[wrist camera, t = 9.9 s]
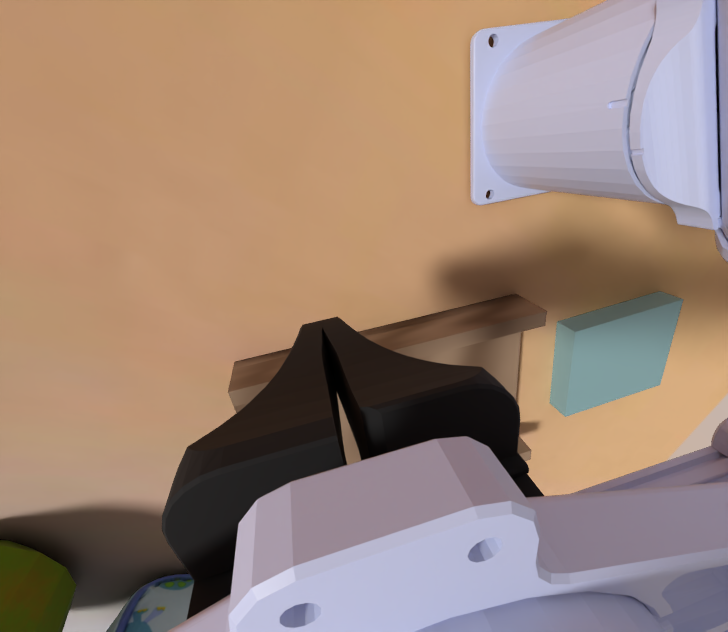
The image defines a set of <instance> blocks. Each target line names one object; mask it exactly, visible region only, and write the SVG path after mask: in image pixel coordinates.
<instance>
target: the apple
mask: <svg viewBox="0 0 728 632" xmlns="http://www.w3.org/2000/svg"><path fill="white" fill-rule="evenodd" d="M76 586H77V585H76V584H75V582H74V580H73V579H72V577H71V575H70V574H69V572H68V570H67V568H66V567H64V566H62V565H61V564H59V563H57V562H56V561H54V560H52V559H50V558H49V557H47V556H45V555H44V554H42V553H40V552H38V551H36V550H34V549H31V548H29V547H26V546H23V545H20V544H17V543H14V542H11V541H8V540H0V632H62V631H63V628H64V624H65V621H66V618H67V615H68V612H69V609H70V606H71V603H72V599H73V596H74V592H75V589H76Z"/></svg>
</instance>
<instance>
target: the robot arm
mask: <svg viewBox="0 0 728 632" xmlns="http://www.w3.org/2000/svg"><path fill="white" fill-rule="evenodd" d="M489 37H492V38H493V40H494V44H493V47H490V45H489V43H488V40H489ZM470 101H471V201H472V202H473V203H474V204H476V205H485V204H490V203H495V202H500V201H505V200H510V199H515V198H520V197H525V196H530V195H535V194H540V193H545V192H550V191H555V192H563V193H572V194H580V195H589V196H597V197H606V198H614V199H623V200H632V201H640V202H649V203H657V204H666V205H669V206H670V207H671V208H672V209H673V211H674V212H675V214H676V218H677V223H678V224H680V225H686V226H692V227H698V228H705V229H711V230H715V241H716V246H717V249H718V251H719V253H720V254H721V256H722V257H723V259H724V260H725V261H727V262H728V0H607V1H605V2H602V3H600V4H598V5H596V6H594V7H592V8H590V9H588V10H586V11H584V12H582V13H580V14H578V15H576V16H574V17H571V18H569V19H561V20H553V21H544V22H536V23H528V24H519V25H511V26H503V27H494V28H486V29H482V30H479V31H478V32H476V33H475V34H474V35H473V37H472V39H471V44H470ZM488 190H490V196H489V197H488V198H486V193H487V191H488ZM337 393H338V396H339V399H340V401H341V404H342V407H343V409H344V412H345V415H346V417H347V420H348V423H349V425H350V428H351V431H352V433H353V436H354V438H355V441H356V444H357V447H358V450H359V454H360V457H361V461H358V462H355V463H352V464H348V465H347V461H346V457H345V451H344V445H343V437H342V429H341V421H340V413H339V405H338V397H337ZM519 427H520V411H519V406H518V404H517V402H516V400H515V398H514V397H513V396H512V395H511V394H510V393H509V392H508V391H507V390H506V389H505V387H504V386H503V385H502V384H501V383H500V382H499V381H498V380H497V379H496V378H495V377H493V376H492V375H491V374H490V373H489V372H488V371H486V370H485V369H484V368H483V367H479V366H464V365H450V364H443V363H437V362H431V361H426V360H421V359H417V358H414V357H410V356H406V355H403V354H400V353H397V352H395V351H392V350H390V349H387V348H385V347H382V346H380V345H378V344H376V343H374V342H373V341H371V340H369V339H367V338H366V337H364V336H363V335H361V334H360V333H358V332H357V331H355V330H354V329H352V328H351V327H350V326H349V325H347V324H346V323H345V322H344V321H343V320H341V319H340V318H338V317H334V318H330V319H326V320H321V321H317V322H313V323H309V324H304V325H302V327H301V328H300V331H299V334H298V336H297V339H296V341H295V343H294V345H293V347H292V349H291V351H290V353H289V355H288V356H287V358H286V360H285V361H284V363H283V364H282V366H281V368H280V369H279V371H278V372H277V373H276V375H275V376H274V377H273V379H272V380H271V381H270V382H269V383H268V384H267V386H266V387H265V388H264V389H263V390H262V391H261V392H260V393H259V394H258V395H257V396H256V397H255V398H254V399H253V400H251V401H250V402H249V403H248V404H247V405H246V406H245V407H244V408H243V409H241V410H240V411H239V412H238V413H237V414H235V415H234V416H233V417H231V418H230V419H229V420H227V421H226V422H225V423H223V424H222V425H221V426H219V427H218V428H216V429H215V430H213V431H212V432H210V433H209V434H207V435H205V436H204V437H202V438H201V439H199V440H198V441H196V442H195V443H193V444H191V445H190V446H188V447H187V449H186V451H185V454H184V456H183V458H182V460H181V463H180V465H179V467H178V470H177V473H176V475H175V478H174V481H173V484H172V487H171V490H170V493H169V497H168V500H167V503H166V506H165V509H164V512H163V515H162V531H163V533H164V536H165V538H166V540H167V542H168V544H169V545H170V547H171V548H172V550H173V551H174V553H175V554H176V555H177V557H178V558H179V560H180V561H181V563H182V564H183V565H184V567H185V568H186V570H187V571H188V573H189V574H190V576H191V577H192V578H193V580H194V585H193V590H192V595H191V600H190V605H189V610H188V615H187V620H186V621H184V622H182V623H181V624H179V625H177V626H175V627H174V628H172V629H170V630H169V631H167V632H728V418H727V419H725V420H724V421H723V422H722V423H721V424H719V426H718V427H717V429H716V430H715V433H714V435H713V438H712V441H711V446H709V447H706V448H704V449H701V450H697V451H694V452H692V453H689V454H686V455H683V456H680V457H677V458H674V459H671V460H668V461H665V462H662V463H659V464H656V465H654V466H651V467H648V468H645V469H642V470H639V471H636V472H633V473H630V474H627V475H624V476H621V477H618V478H616V479H613V480H610V481H607V482H604V483H601V484H598V485H595V486H592V487H589V488H586V489H583V490H580V491H578V492H575V493H572V494H566V495H553V496H544V495H543V494H542V492H541V491H540V490H539V489H538V487H537V486H536V485H535V483H534V482H533V481H532V480H531V478H530V477H529V476H528V475H527V473H528V472H529V468H528V465H527V463H526V462H525V461H524V460H523V458H522V457H521V456H520V455H519V453H518V452H517V451H518V439H519Z"/></svg>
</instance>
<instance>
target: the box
mask: <svg viewBox="0 0 728 632" xmlns="http://www.w3.org/2000/svg"><path fill="white" fill-rule="evenodd" d="M546 314H547V311H546V310H544V309H542V308H540V307H538V306H537V305H535V304H533V303H531V302H530V301H528V300H526V299H524V298H523V297H521V296H519V295H517V294H513V295H509V296H505V297H501V298H497V299H493V300H488V301H484V302H480V303H476V304H472V305H468V306H464V307H460V308H455V309H451V310H447V311H443V312H439V313H435V314H431V315H427V316H422V317H418V318H414V319H410V320H406V321H402V322H398V323H394V324H390V325H385V326H381V327H377V328H373V329H369V330H365V331H361V332H358V333H360V334H361V335H363V336H364V337H366V338H367V339H369V340H371V341H373V342H374V343H376V344H378V345H380V346H382V347H385V348H387V349H390V350H392V351H395V352H397V353H400V354H403V355H406V356H410V357H414V358H417V359H421V360H426V361H431V362H437V363H443V364H450V365H464V366H479V367H483V368H484V369H485V370H486V371H488V372H489V373H490V374H491V375H492V376H493V377H495V378H496V379H497V380H498V381H499V382H500V383H501V384H502V385H503V386H504V387H505V389H506V390H507V391H508V392H509V393H510V394H511V395H512V396H513V397H514V398H515V400H516V393H517V379H518V366H519V353H520V339H521V332H522V331H526V330H530V329H534V328H538V327H542V326H545V323H546ZM291 349H292V348H291ZM291 349H286V350H282V351H278V352H274V353H270V354H266V355H262V356H258V357H253V358H249V359H245V360H241V361H237V362H234V367H233V371H232V376H231V381H230V385H229V390H228V394H229V396H230V398H231V401H232V403H233V406H234V408H235V410H236V413H238V412H239V411H240V410H241V409H243V408H244V407H245V406H246V405H247V404H248V403H249V402H250V401H251V400H253V399H254V398H255V397H256V396H257V395H258V394H259V393H260V392H261V391H262V390H263V389H264V388H265V387H266V386H267V384H268V383H269V382H270V381H271V380H272V379H273V377H274V376H275V375H276V373H277V372H278V371H279V369H280V368H281V366H282V364H283V363H284V361H285V360H286V358H287V356H288V355H289V353H290V351H291ZM337 397H338V405H339V413H340V421H341V429H342V437H343V445H344V451H345V457H346V461H347V465H348V464H352V463H355V462H358V461H361V457H360V454H359V450H358V447H357V444H356V441H355V438H354V436H353V433H352V431H351V428H350V425H349V423H348V420H347V417H346V415H345V412H344V409H343V407H342V404H341V401H340V399H339V396H338V393H337ZM517 452H518V453H519V455H520V456H521V457H522V458H523V460H524V461H527V460H530V459H531V449H530V448H529V447H528V446H527V445H526V444H525V442H524V441H523V440H522V439H521V438H520V437H519V439H518V451H517Z"/></svg>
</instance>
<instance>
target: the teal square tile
mask: <svg viewBox="0 0 728 632" xmlns="http://www.w3.org/2000/svg"><path fill="white" fill-rule="evenodd" d="M682 302H683V299H681V298H678V297H675V296H672V295H669V294H667V293H664V292H661V291H659V292H656V293H652V294H649V295H646V296H642V297H639V298H635V299H632V300H629V301H625V302H622V303H619V304H615V305H612V306H608V307H605V308H602V309H598V310H595V311H591V312H588V313H585V314H581V315H578V316H575V317H571V318H568V319H564V320H561V321H558V322H557V328H556V339H555V350H554V361H553V372H552V383H551V394H550V404H551V405H552V406H554V407H555V408H556V409H557V410H558V411H559V412H560V413H561V414H563V415H564V416H565V417H566V416H569V415H572V414H575V413H578V412H581V411H584V410H587V409H590V408H593V407H596V406H599V405H602V404H605V403H608V402H611V401H614V400H616V399H619V398H622V397H625V396H628V395H631V394H634V393H637V392H640V391H643V390H646V389H649V388H652V387H655V386H658V385H660V383H661V379H662V376H663V372H664V368H665V365H666V361H667V357H668V354H669V350H670V346H671V343H672V339H673V335H674V332H675V328H676V324H677V321H678V317H679V313H680V310H681V306H682Z"/></svg>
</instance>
